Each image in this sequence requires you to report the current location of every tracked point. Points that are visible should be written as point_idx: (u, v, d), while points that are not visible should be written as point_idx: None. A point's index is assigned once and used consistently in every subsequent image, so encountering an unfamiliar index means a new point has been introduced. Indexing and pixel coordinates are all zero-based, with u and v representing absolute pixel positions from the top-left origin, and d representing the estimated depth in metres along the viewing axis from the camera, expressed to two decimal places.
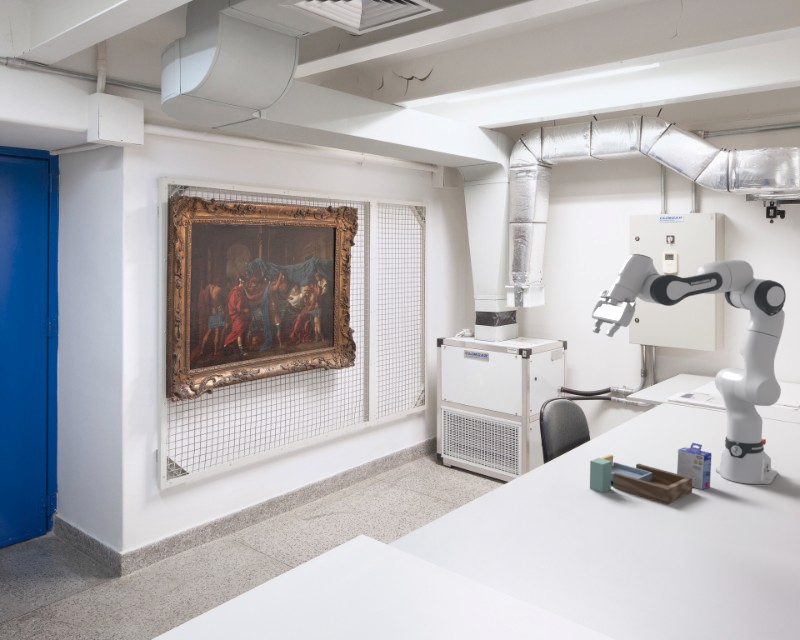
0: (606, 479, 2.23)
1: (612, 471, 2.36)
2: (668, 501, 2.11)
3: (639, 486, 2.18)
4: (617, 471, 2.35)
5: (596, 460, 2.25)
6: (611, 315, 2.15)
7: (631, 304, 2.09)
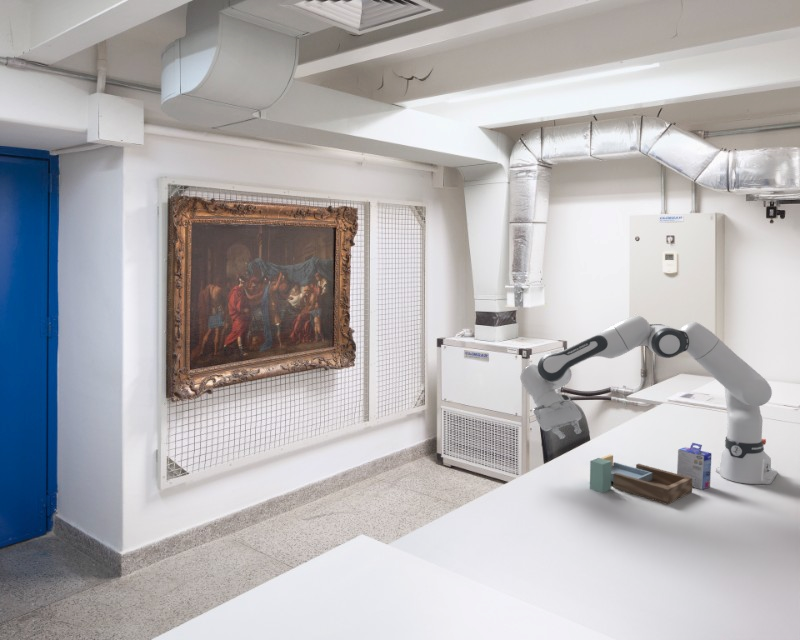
0: (606, 479, 2.23)
1: (612, 471, 2.36)
2: (668, 501, 2.11)
3: (639, 486, 2.18)
4: (617, 471, 2.35)
5: (596, 460, 2.25)
6: None
7: None
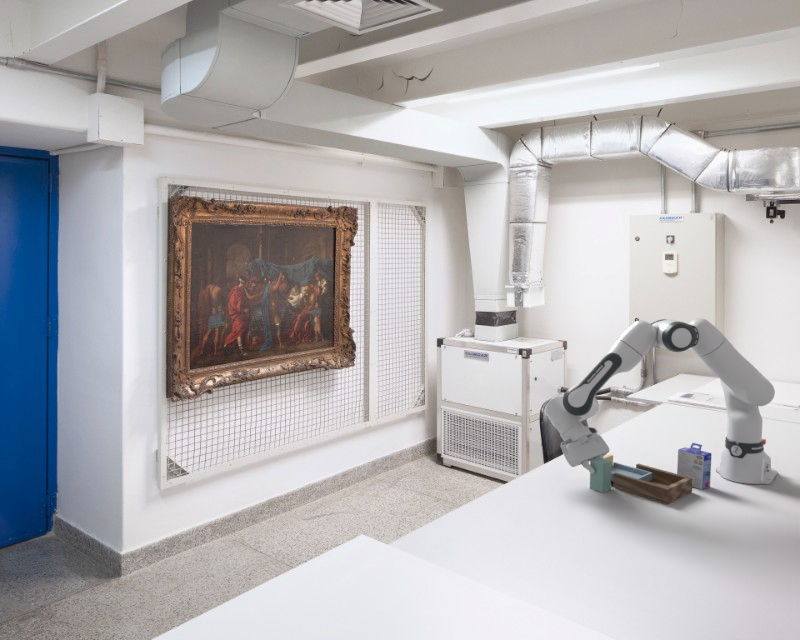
0: (606, 479, 2.23)
1: (612, 471, 2.36)
2: (668, 501, 2.11)
3: (639, 486, 2.18)
4: (617, 471, 2.35)
5: (596, 460, 2.25)
6: None
7: None
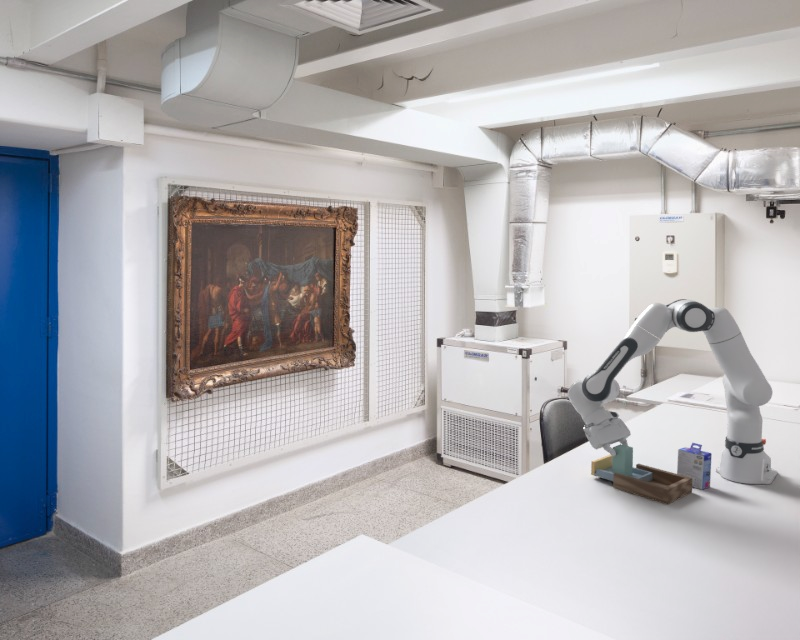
0: (628, 465, 2.30)
1: None
2: (668, 501, 2.11)
3: (639, 486, 2.18)
4: None
5: (618, 446, 2.32)
6: None
7: None
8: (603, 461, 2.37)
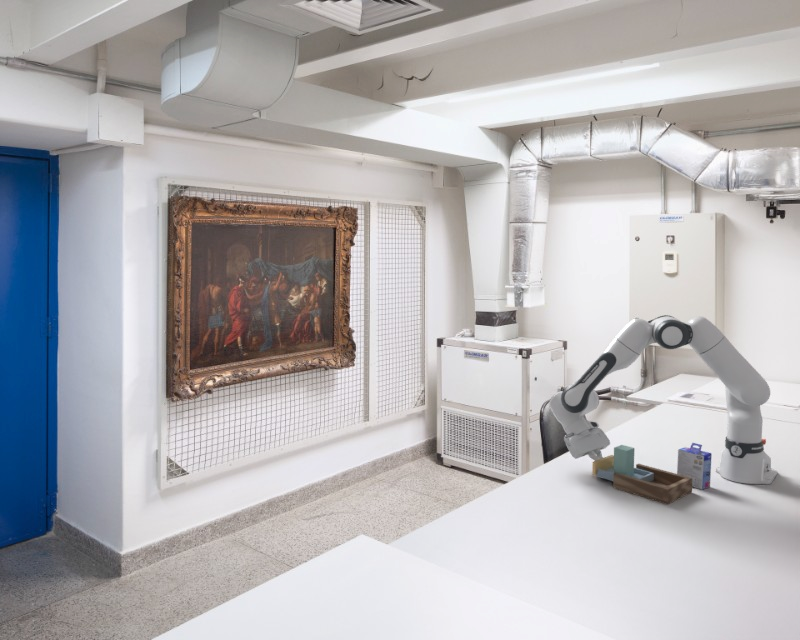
0: (630, 465, 2.29)
1: (613, 471, 2.35)
2: (668, 501, 2.11)
3: (639, 486, 2.18)
4: None
5: (619, 447, 2.31)
6: None
7: None
8: (604, 461, 2.37)
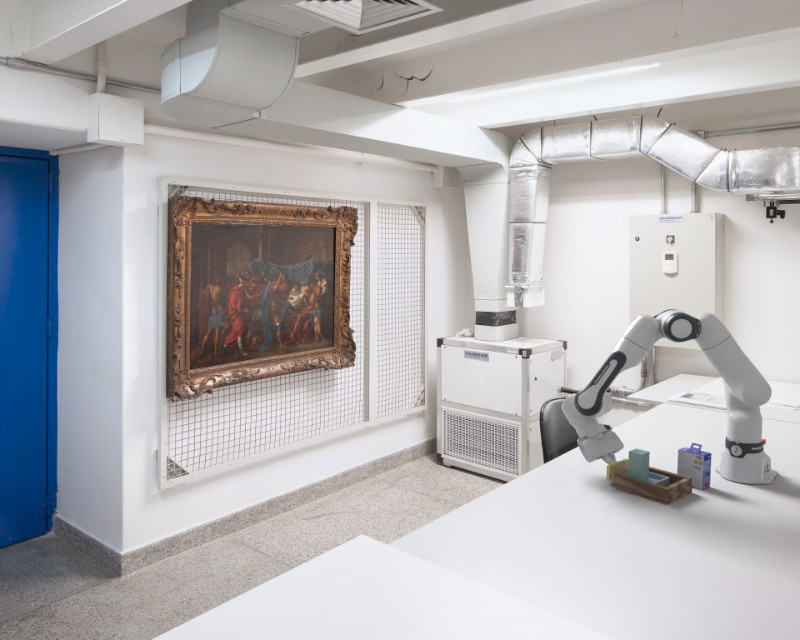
0: (645, 469, 2.25)
1: None
2: (668, 501, 2.11)
3: (639, 486, 2.18)
4: None
5: (634, 451, 2.27)
6: None
7: None
8: (618, 465, 2.33)
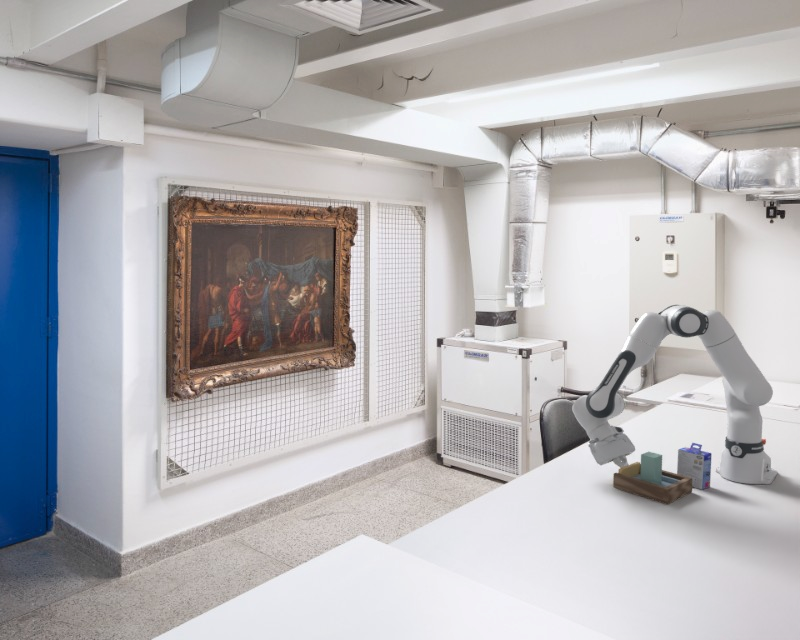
0: (657, 473, 2.21)
1: None
2: (668, 501, 2.11)
3: (639, 486, 2.18)
4: None
5: (647, 454, 2.23)
6: None
7: None
8: (630, 468, 2.29)
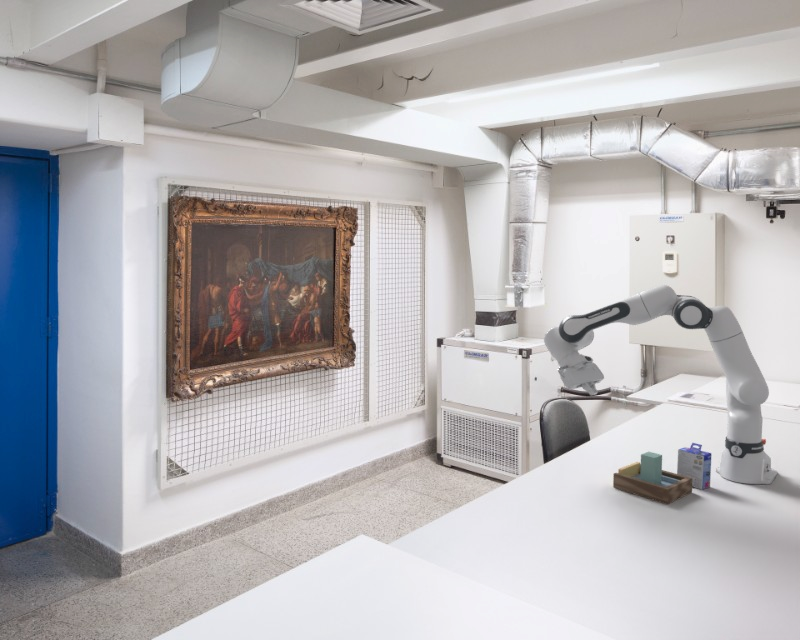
0: (657, 473, 2.21)
1: None
2: (668, 501, 2.11)
3: (639, 486, 2.18)
4: None
5: (647, 454, 2.23)
6: None
7: None
8: (630, 468, 2.29)
